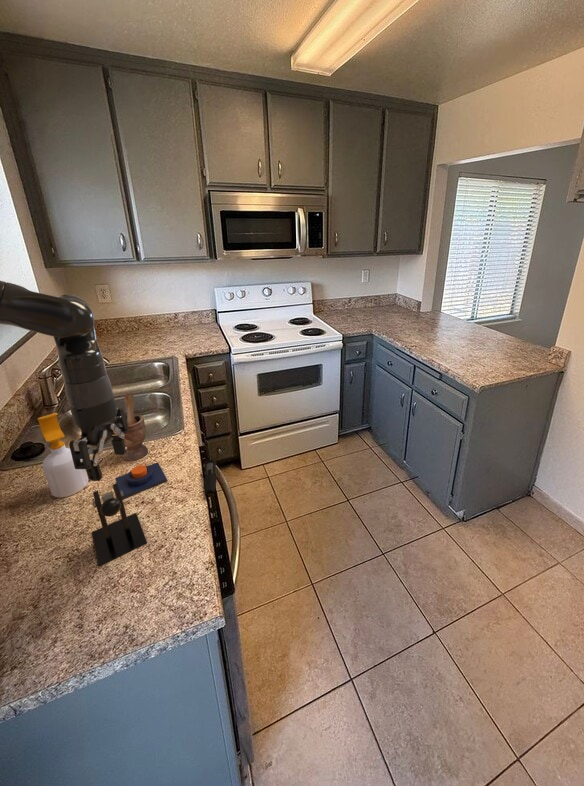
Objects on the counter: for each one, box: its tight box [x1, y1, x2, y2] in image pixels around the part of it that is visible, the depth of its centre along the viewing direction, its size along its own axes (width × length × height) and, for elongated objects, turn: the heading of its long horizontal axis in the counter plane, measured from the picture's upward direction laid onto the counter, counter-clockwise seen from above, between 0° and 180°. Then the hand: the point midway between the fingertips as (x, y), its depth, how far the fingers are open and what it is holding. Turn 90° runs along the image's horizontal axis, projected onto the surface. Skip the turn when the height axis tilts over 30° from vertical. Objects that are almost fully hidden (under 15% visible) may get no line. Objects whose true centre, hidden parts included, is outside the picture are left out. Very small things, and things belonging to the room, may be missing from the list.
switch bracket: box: [91, 482, 148, 568], centre depth 84 cm, size 12×10×15 cm
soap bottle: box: [37, 412, 89, 498], centre depth 101 cm, size 9×9×25 cm
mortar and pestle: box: [119, 392, 149, 462], centre depth 118 cm, size 12×9×20 cm
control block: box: [114, 462, 168, 501], centre depth 105 cm, size 12×10×4 cm
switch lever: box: [100, 490, 121, 518], centre depth 78 cm, size 13×4×4 cm, turn 37°
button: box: [130, 464, 147, 479], centre depth 105 cm, size 4×4×2 cm
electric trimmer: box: [203, 458, 218, 495], centre depth 107 cm, size 4×16×3 cm, turn 16°
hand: (109, 466), depth 75 cm, fingers open, 8 cm apart
